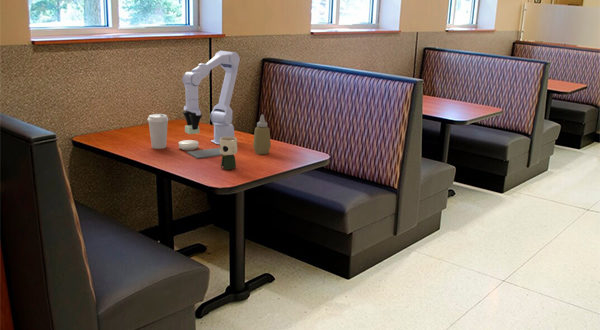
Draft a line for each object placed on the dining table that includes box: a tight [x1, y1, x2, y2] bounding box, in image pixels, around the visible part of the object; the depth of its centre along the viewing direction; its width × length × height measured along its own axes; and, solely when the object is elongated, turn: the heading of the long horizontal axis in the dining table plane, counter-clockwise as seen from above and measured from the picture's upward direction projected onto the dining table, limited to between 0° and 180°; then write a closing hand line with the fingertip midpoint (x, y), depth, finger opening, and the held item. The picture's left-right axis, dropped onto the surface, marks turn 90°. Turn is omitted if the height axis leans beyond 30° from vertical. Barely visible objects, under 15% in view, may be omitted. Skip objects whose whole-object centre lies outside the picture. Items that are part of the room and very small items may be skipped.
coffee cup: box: [147, 113, 169, 150], centre depth 278 cm, size 10×10×15 cm
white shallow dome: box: [178, 139, 199, 151], centre depth 279 cm, size 9×9×3 cm
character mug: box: [219, 136, 238, 170], centre depth 248 cm, size 11×7×13 cm, turn 45°
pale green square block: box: [184, 124, 200, 135], centre depth 275 cm, size 5×5×3 cm
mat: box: [186, 147, 223, 160], centre depth 271 cm, size 16×11×1 cm
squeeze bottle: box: [252, 114, 272, 155], centre depth 273 cm, size 8×8×18 cm
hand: (192, 128), depth 275 cm, fingers open, 5 cm apart
